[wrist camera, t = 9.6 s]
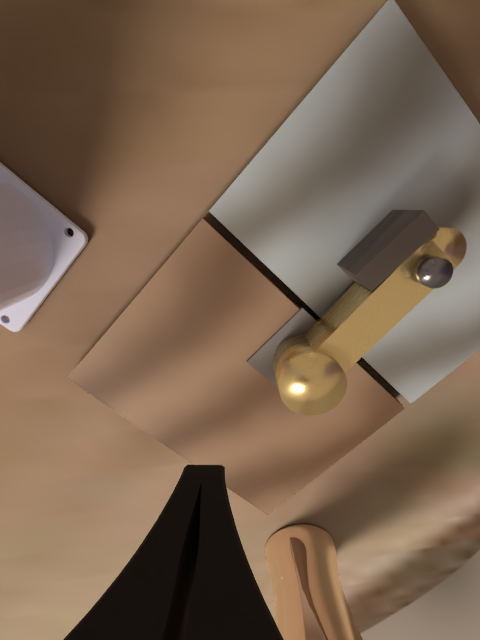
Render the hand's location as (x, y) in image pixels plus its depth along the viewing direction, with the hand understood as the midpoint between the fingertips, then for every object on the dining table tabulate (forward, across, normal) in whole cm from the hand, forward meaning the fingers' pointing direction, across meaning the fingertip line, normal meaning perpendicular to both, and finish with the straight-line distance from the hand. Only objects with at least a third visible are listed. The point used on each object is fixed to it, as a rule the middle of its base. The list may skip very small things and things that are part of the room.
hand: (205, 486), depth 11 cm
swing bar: (+9, -8, -4) cm, 12 cm away
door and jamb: (+10, -6, -3) cm, 12 cm away
